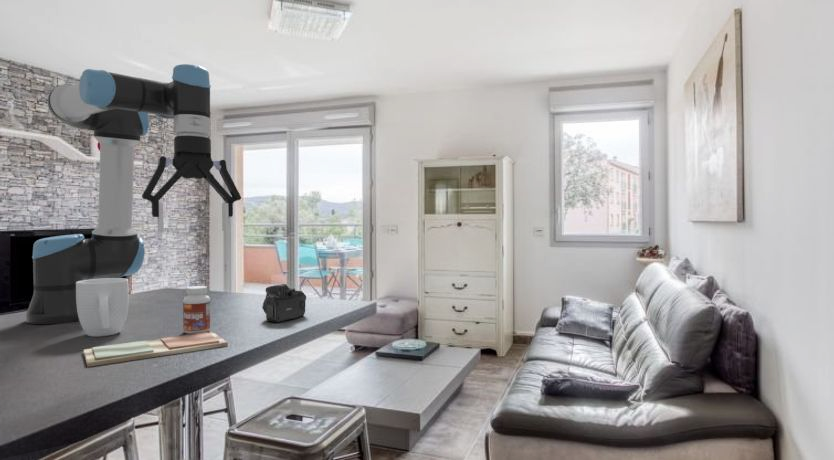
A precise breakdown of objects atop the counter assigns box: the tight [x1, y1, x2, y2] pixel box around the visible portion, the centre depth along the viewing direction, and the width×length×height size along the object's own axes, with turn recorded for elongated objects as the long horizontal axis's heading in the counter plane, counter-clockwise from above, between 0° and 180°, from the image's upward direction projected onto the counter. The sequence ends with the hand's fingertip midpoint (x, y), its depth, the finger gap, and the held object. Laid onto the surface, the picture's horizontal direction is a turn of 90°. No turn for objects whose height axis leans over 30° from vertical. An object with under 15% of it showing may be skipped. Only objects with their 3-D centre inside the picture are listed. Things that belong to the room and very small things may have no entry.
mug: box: [76, 277, 130, 338], centre depth 122 cm, size 15×11×13 cm
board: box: [83, 331, 229, 368], centre depth 109 cm, size 12×26×1 cm, turn 126°
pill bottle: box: [182, 285, 211, 335], centre depth 126 cm, size 6×6×11 cm
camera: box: [262, 283, 307, 323], centre depth 141 cm, size 13×10×10 cm
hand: (194, 232), depth 114 cm, fingers open, 13 cm apart
